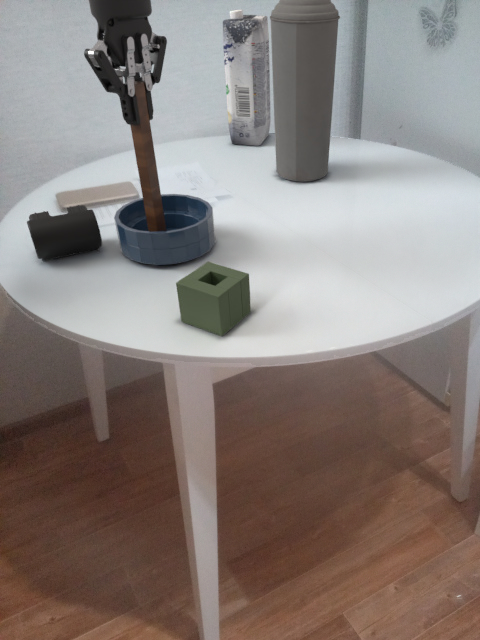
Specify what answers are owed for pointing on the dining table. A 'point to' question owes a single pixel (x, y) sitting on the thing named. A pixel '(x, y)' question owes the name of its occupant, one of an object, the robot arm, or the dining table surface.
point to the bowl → (181, 230)
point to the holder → (214, 298)
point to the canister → (303, 85)
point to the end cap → (64, 233)
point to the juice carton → (247, 77)
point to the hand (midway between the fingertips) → (139, 121)
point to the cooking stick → (147, 164)
